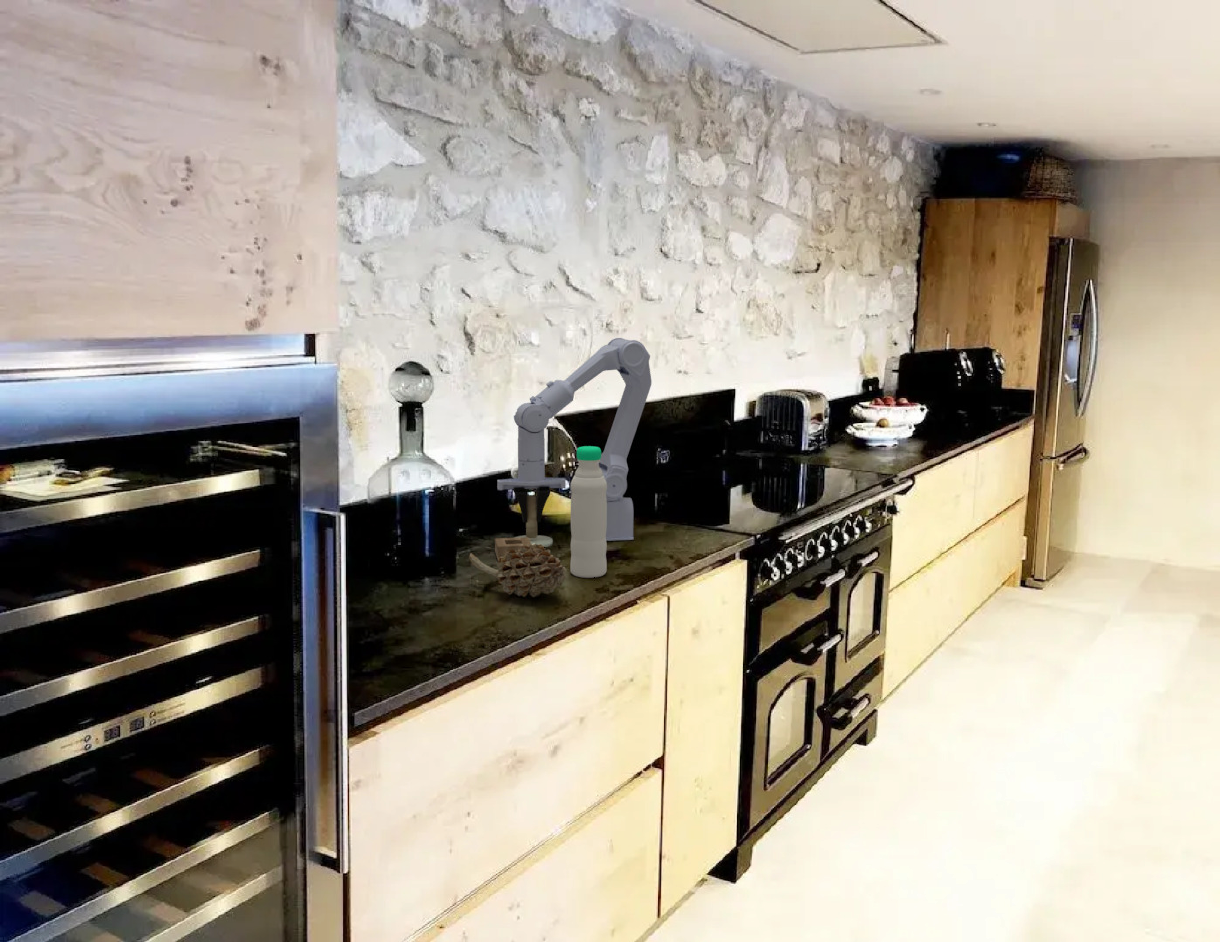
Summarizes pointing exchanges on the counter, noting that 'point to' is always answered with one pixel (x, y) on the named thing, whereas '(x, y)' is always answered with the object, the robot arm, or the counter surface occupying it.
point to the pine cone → (526, 570)
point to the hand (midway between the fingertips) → (531, 521)
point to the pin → (531, 516)
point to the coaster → (540, 540)
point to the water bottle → (588, 515)
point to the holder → (509, 545)
